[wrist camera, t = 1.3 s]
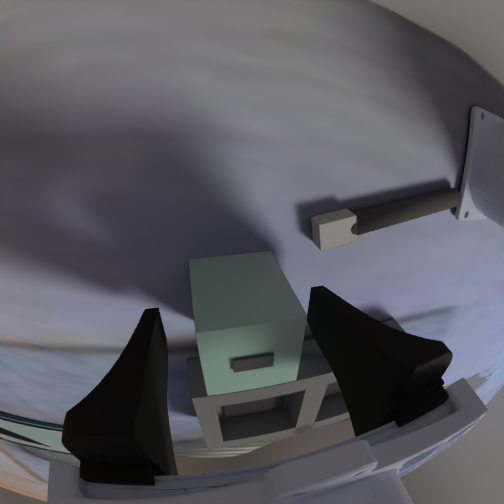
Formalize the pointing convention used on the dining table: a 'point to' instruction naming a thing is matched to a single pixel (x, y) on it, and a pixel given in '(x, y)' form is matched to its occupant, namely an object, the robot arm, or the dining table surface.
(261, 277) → the block
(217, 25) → the dining table surface
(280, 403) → the grey piece
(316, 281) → the dining table surface
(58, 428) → the smartphone
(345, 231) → the cable piece
